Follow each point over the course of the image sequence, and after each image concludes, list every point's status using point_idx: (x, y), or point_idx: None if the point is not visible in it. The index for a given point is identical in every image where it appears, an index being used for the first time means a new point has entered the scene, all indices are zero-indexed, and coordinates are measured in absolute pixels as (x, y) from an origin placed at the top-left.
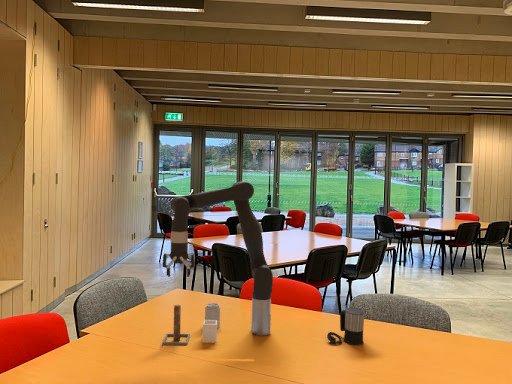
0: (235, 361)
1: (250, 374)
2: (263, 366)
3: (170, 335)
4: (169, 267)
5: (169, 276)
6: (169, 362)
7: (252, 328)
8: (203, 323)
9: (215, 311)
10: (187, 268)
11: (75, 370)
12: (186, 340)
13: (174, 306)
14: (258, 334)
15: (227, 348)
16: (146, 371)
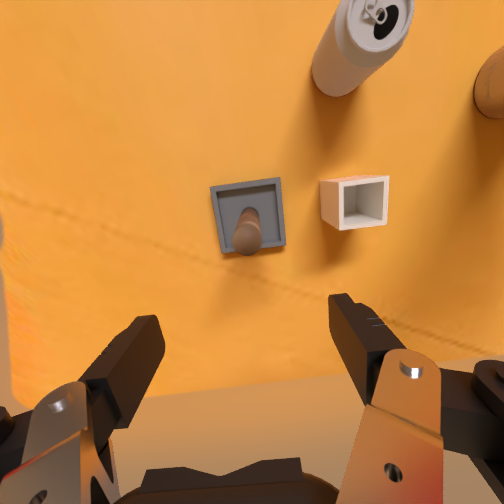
0: (403, 301)
1: (428, 347)
2: (460, 314)
3: (223, 190)
4: (106, 427)
5: (164, 350)
6: (265, 324)
7: (492, 98)
8: (340, 220)
9: (383, 63)
10: (366, 373)
11: None
12: (280, 230)
13: (236, 251)
14: (495, 117)
15: (387, 235)
16: (235, 362)
